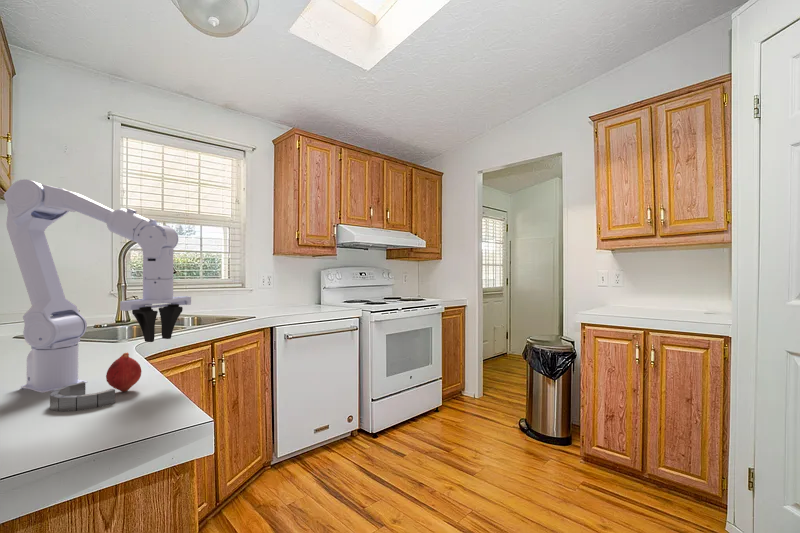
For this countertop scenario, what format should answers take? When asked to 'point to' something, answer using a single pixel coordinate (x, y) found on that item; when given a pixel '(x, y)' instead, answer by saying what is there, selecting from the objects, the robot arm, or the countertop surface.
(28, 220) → the robot arm
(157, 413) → the countertop surface
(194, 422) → the countertop surface
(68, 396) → the split collar
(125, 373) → the onion
